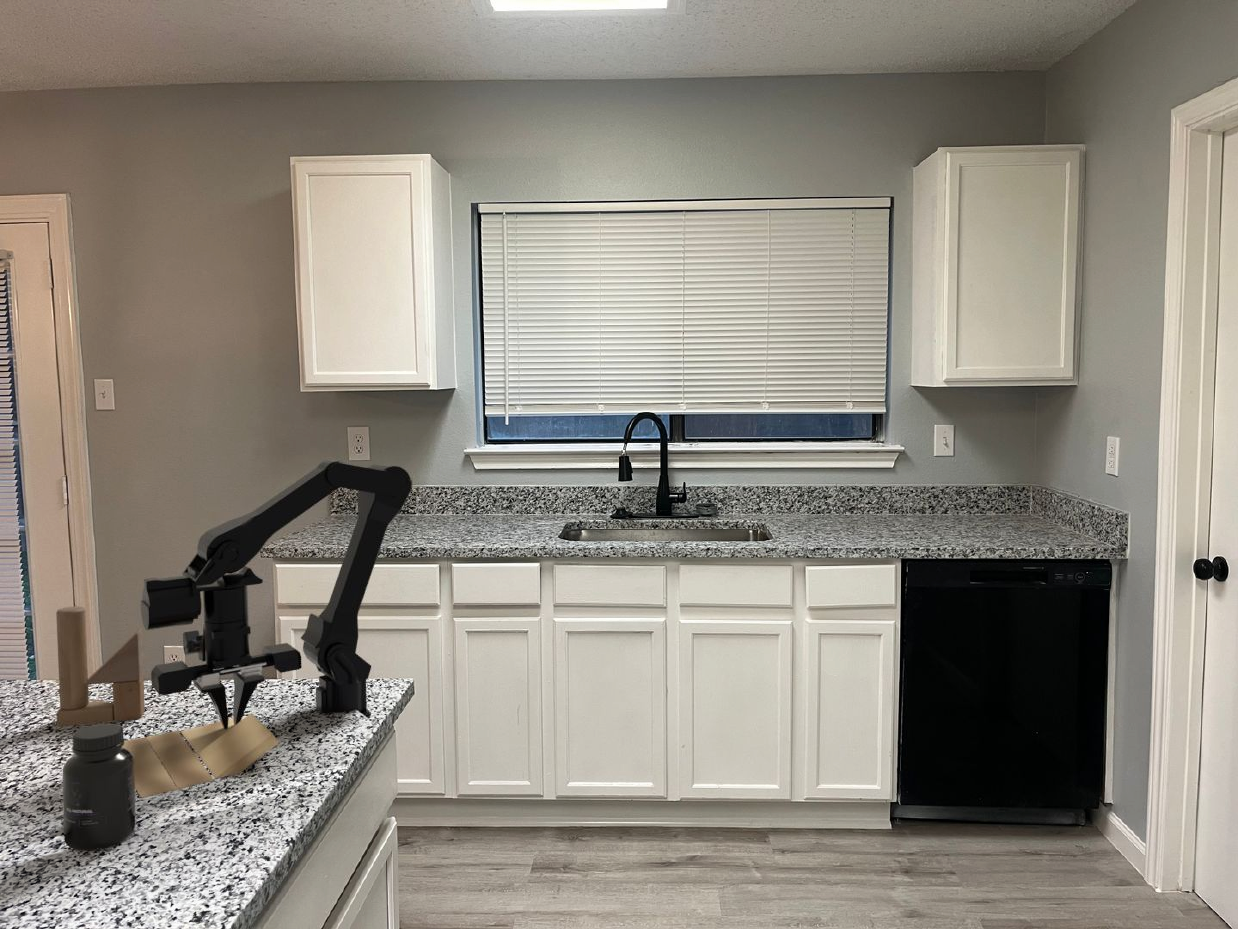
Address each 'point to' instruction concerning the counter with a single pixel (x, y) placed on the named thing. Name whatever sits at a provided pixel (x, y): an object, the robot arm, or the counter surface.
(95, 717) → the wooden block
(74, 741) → the supplement bottle
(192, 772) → the laid floor row
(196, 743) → the oak plank
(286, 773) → the counter surface
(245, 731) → the oak plank
